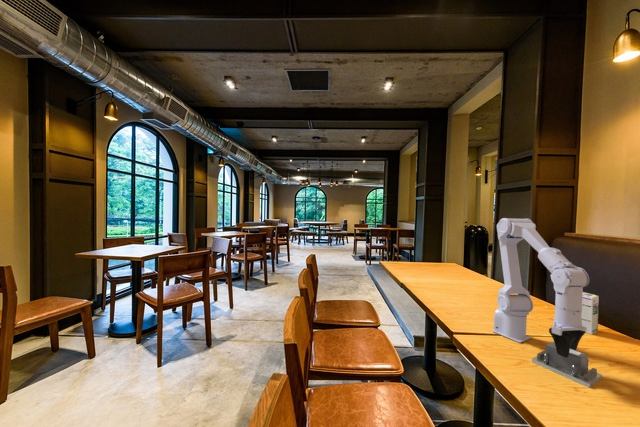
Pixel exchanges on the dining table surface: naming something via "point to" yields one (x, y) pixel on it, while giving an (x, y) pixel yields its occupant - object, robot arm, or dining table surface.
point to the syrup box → (590, 312)
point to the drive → (567, 359)
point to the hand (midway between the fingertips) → (566, 353)
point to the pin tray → (585, 379)
